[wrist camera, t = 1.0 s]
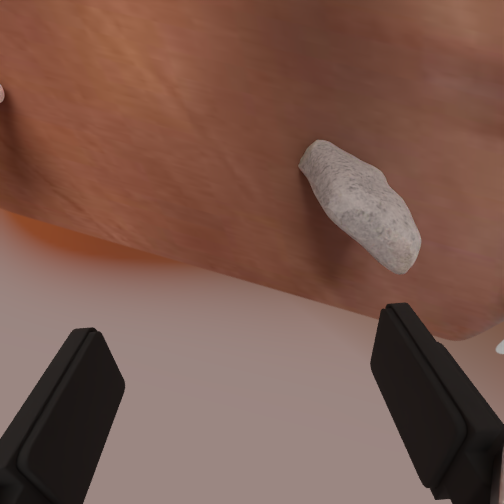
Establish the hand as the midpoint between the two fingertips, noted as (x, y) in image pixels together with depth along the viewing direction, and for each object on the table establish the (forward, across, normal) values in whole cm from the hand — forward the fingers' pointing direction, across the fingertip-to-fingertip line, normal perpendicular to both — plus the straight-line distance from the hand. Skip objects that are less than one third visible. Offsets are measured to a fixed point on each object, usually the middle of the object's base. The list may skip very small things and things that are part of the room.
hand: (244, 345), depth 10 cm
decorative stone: (+27, -11, +3) cm, 30 cm away
